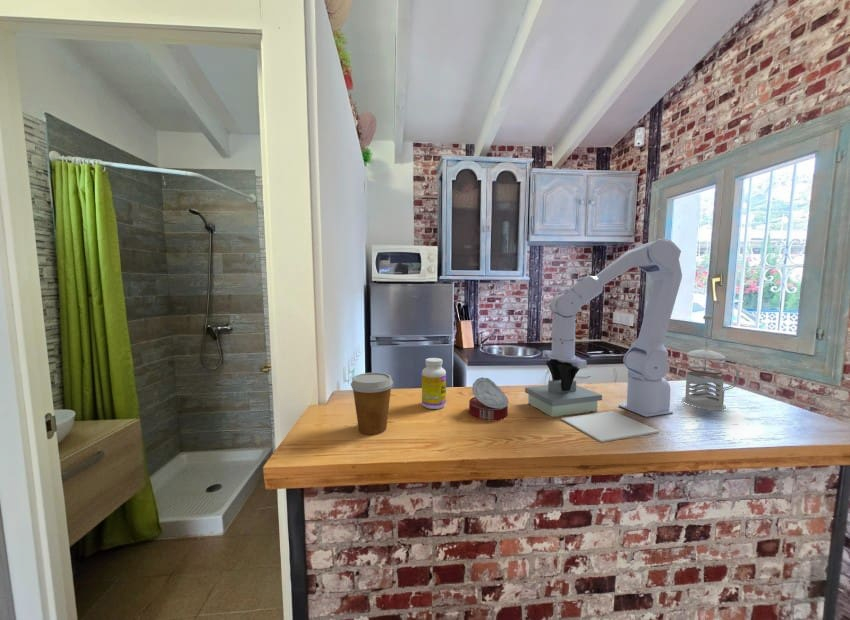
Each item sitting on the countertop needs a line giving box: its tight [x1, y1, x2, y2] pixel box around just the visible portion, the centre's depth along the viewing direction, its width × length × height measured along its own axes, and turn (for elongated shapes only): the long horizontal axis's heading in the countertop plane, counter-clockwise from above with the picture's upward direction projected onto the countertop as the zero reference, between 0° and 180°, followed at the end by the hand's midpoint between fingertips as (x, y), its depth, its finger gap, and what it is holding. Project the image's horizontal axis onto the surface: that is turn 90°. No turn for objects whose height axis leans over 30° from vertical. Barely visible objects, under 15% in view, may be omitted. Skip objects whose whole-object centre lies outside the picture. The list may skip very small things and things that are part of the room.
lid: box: [524, 379, 603, 407], centre depth 85 cm, size 15×11×4 cm
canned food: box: [468, 377, 509, 422], centre depth 81 cm, size 11×10×10 cm
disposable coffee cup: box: [350, 372, 394, 436], centre depth 71 cm, size 10×10×12 cm
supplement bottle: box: [421, 357, 447, 410], centre depth 86 cm, size 7×7×13 cm
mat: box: [560, 410, 660, 443], centre depth 73 cm, size 16×12×1 cm
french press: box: [681, 314, 740, 411], centre depth 86 cm, size 10×12×25 cm
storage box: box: [527, 394, 598, 418], centre depth 85 cm, size 14×10×4 cm
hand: (562, 388), depth 85 cm, fingers closed on lid, 2 cm apart
